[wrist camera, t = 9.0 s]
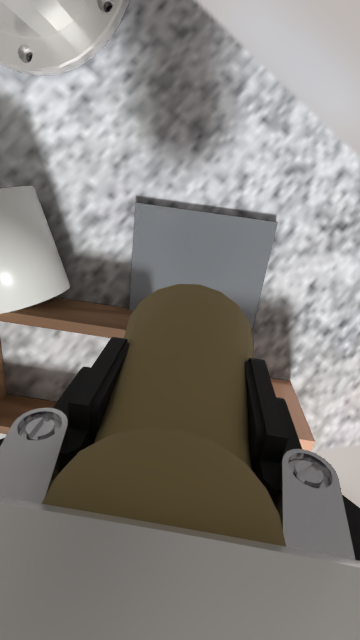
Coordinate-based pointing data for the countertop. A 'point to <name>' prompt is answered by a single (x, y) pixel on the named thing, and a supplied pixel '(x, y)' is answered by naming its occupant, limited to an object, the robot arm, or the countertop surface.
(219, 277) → the slate coaster
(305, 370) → the countertop surface
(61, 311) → the walnut open frame
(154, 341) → the pepper shaker
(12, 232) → the white plastic tumbler
